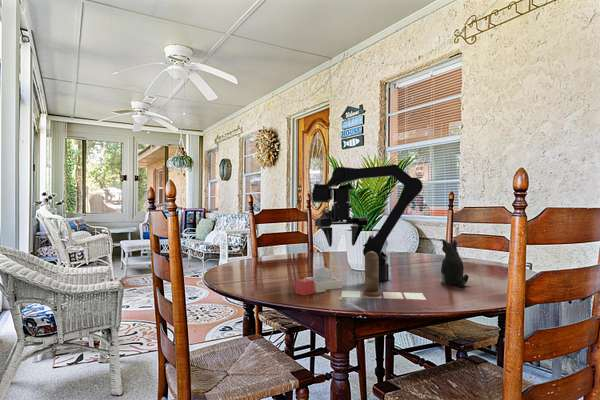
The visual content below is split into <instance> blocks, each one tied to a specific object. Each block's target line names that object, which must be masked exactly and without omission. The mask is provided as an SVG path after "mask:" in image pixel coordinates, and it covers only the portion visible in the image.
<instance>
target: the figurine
mask: <svg viewBox="0 0 600 400" xmlns="http://www.w3.org/2000/svg"><path fill="white" fill-rule="evenodd" d="M441 242H442V247H441V250H442V252H443V253H444V255H445V256H444V258H443V259H442V261H441V267H440V280H439V282H438V283H440V284H444V285H450V286H452V287H456V288H463V287H464V286H465V285H466V283H468V281H469V278H470V276H469V274H464V262H463V260H462V258H461V256H460V254H459V252H458V248H457V245H458V242H457V240H456V239H453V240H452V241H451V242H448V241H446V239H442V240H441Z"/></svg>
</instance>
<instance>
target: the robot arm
mask: <svg viewBox="0 0 600 400" xmlns="http://www.w3.org/2000/svg"><path fill="white" fill-rule="evenodd" d="M384 177H385V178H387V177H394V179H396V180H397V181H398V182H399V183H401V184H402V185H403V187H402V190H401V193H400V196H399V197H398V201H397V202H396V204H395V205H394V207H393V208H392V210H391V211H390V213H389V215H388V216H387V217H386V219H385V220H384V221H383V224H382V225H381V227H380V229H379V230H378V231H377V233H376V234H375V236H374V235H373V234H371V235H369V236H368V238H367V241H366V243H365V244H363V245H362V247H363V249H362V255H363V256H364V257H365V255H366V253H367V252H370V251H373V252H375V253H377V255H378V260H379V283H386V282H391V280H390V277H389V275H390V274H389V270H390V269H389V263H387V260H388V258H389V257H388V255H386V253H385V252H384V251H383V249H384V247H385V244H386V243H387V240H388V237H389V236H390V234H391V233H392V231H393V230H394V228H395V226H396V225H397V223H398V222H399V220H400V219H401V217H403V214H404V213H405V211H406V209H407V208H408V206H409V205H410V204H411V203H412V202H413V201H414V200H415V199H416V198H417V197H418V195H420V194H421V192H422V190H423V187H424V185H423V182H422V180H421V179H419V178H418V177H412V176H411V175H409V174H408V173H407V172H406V171H404V170H403V168H400V166H399V165H398V164H396V163H395V164H394V163H393V164H389V165H388V164H387V165H381V166H370V167H362V168H361V167H359V168H358V167H356V168H355V167H345V166H338V167H335V168H334V169H333V170H332V174H331V177H330V179H329V180H328V181H327V183H326V184H323V183H322V184H320V183H314V184H313V188H312V193H311V198H312V202H313V203H315V204H316V203H320V204H321V203H322V204H324V203H330V202H331V201H332V200H333V204H332V205H331V210H329V208H328V209H326V208H325V209H323V210H322V211H321V212H322V213H321V215H322V217H317V218H316V219H315V221H314V226H315V227H318V229H319V230H322V232H323V234H324V236H325V238H326V241H327V244H328V247H329V248H330V247H332V245H333V227H331V226H332V225H350V229H351V246H352V247H353V246H355V245H356V242H357V241H358V238H359V236H360V234H361V232H362V230H363V229H364V228H366V227H365V226H369V220H368V218H367V217H361V216H359V217H357V216H355V217H352V216H350V209H352V204H351V203H350V190H351V191H352V190H356V187H354V186H353V185H352V183H353V182H356V181H358V180H364V179H375V178H376V179H378V178H384Z"/></svg>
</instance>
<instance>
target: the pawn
mask: <svg viewBox="0 0 600 400" xmlns="http://www.w3.org/2000/svg"><path fill="white" fill-rule="evenodd" d="M379 283H380V282H379V260H378V255H377V253H375V252H373V251H370V252H367V253H366V255H365V256H364V288H363V289H362V291H363V295H364V296H368V297H378V296H382V290H381V289H379V287H380V286H379V285H380V284H379Z"/></svg>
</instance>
